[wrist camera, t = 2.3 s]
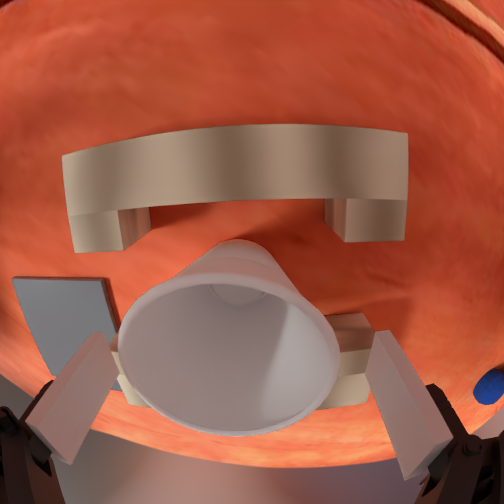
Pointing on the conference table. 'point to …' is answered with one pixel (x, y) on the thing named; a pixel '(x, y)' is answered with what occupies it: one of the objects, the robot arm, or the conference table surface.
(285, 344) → the cup
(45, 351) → the coaster
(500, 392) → the toy
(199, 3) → the conference table surface
